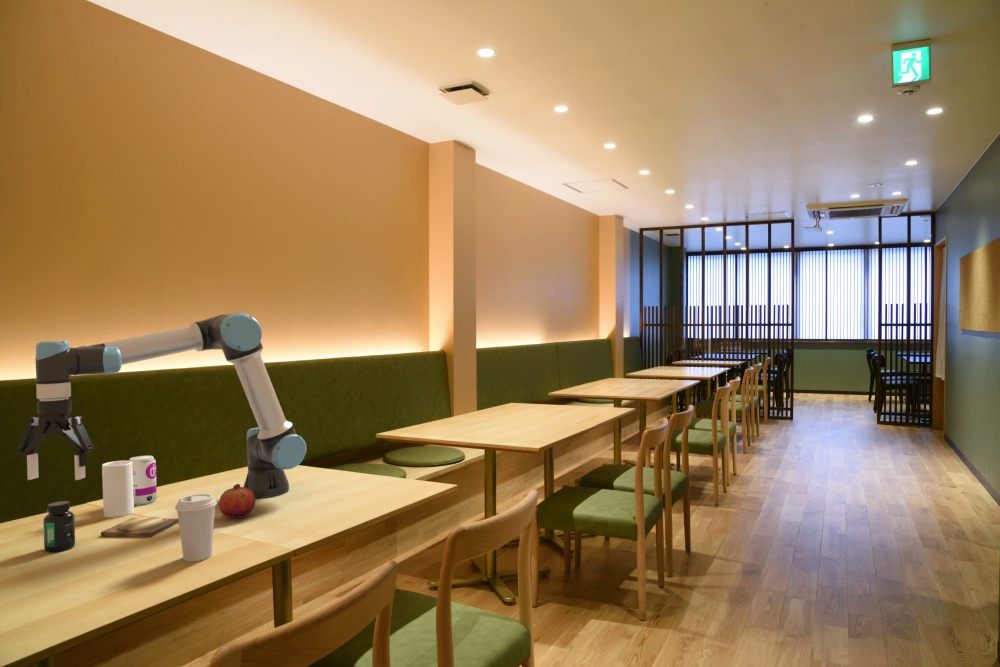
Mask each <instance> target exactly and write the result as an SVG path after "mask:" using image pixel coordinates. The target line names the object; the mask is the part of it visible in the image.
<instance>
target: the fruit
mask: <svg viewBox="0 0 1000 667" xmlns="http://www.w3.org/2000/svg"><path fill="white" fill-rule="evenodd" d="M218 501H219V502H218V507H219V510H220V513H221V514H222V515H223V516H225V517H228V518H233V519H234V518H235V519H236V518H238V519H239V518H243V517H246V516H249V514H251V513H252V512H253V510H254V509H255V507H256V497H255V496H254V494H253V492H252V491H251V490H250V489H248V488H246V487H244V486H241V484H239V483H236V484H235V485H233V486H232V488H229V489H228V488H227V490H225V491H224V492H223V493H221V495H220V497H219V500H218Z"/></svg>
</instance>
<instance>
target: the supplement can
mask: <svg viewBox="0 0 1000 667" xmlns="http://www.w3.org/2000/svg"><path fill="white" fill-rule="evenodd" d="M128 460H129V461H132V466H133V496H134V506H141V505H148V504H152V503H153V502H155V501H156V500H157V498H158V495H157V494H158V493H157V492H158V491H157V487H158V486H157V464H156V463H157V462H156V459H155V458H154V456H153V455H139V456H138V455H137V456H133V457H130V458H129V459H128Z"/></svg>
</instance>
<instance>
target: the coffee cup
mask: <svg viewBox="0 0 1000 667" xmlns="http://www.w3.org/2000/svg"><path fill="white" fill-rule="evenodd" d="M217 504H218V502H217V500H216V499H215V497H214V495H213V494H211V493H195V494H189V495H186V496H181V497H180V498H179V499H178V500H177V503H176V505H175V506H174V510H175V511H176V514H177V518H178V520H179V523H178V525H179V534H180V544H181V550H182V558H183V561H184V562H187V563H188V562H193V563H194V562H200V561H204V560H207V559H210V558H211V557H212V555H213V540H214V527H215V525H214V523H215V510H216V509H215V508H216V506H217Z"/></svg>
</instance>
